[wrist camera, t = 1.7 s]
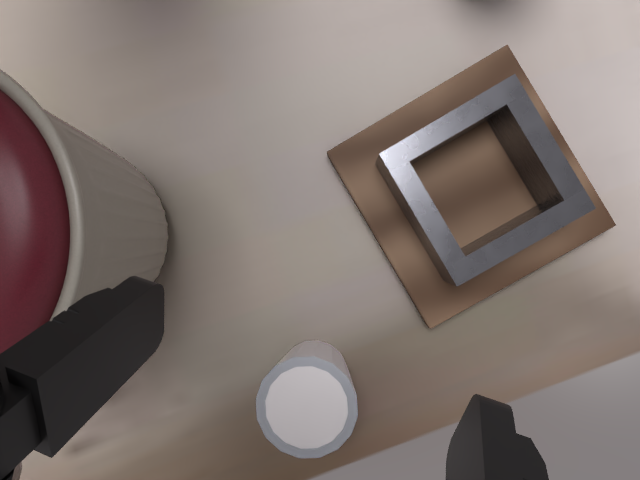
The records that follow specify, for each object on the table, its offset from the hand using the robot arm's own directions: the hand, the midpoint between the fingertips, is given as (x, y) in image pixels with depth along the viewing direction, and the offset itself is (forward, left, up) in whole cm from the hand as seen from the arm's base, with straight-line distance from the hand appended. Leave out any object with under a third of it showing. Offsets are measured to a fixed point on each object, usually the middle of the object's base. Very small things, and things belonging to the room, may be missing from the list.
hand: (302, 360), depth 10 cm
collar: (-1, +13, -23) cm, 26 cm away
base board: (-1, +13, -24) cm, 27 cm away
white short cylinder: (+6, -5, -24) cm, 26 cm away
